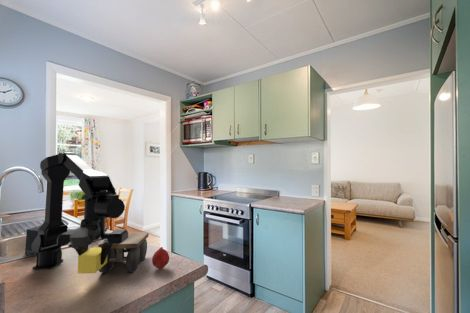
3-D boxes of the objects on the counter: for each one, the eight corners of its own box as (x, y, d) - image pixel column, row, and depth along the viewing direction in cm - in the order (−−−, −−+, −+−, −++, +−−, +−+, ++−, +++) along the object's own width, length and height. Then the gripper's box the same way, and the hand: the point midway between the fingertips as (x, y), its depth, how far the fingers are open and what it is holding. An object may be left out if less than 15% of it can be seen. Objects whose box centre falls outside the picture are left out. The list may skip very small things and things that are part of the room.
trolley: (94, 277, 72) (95, 246, 72) (116, 256, 88) (117, 231, 88) (134, 275, 73) (135, 245, 73) (149, 255, 89) (149, 231, 89)
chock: (77, 273, 64) (78, 256, 64) (91, 262, 71) (91, 247, 71) (95, 273, 65) (95, 256, 65) (107, 262, 71) (107, 247, 72)
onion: (148, 269, 77) (149, 246, 78) (163, 264, 82) (164, 242, 82) (156, 275, 73) (157, 251, 74) (172, 269, 78) (172, 246, 78)
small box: (36, 256, 87) (37, 230, 87) (23, 255, 88) (24, 229, 89) (62, 246, 97) (63, 223, 98) (50, 245, 99) (51, 222, 99)
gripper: (43, 221, 60) (40, 279, 59) (113, 220, 61) (111, 276, 61) (70, 212, 71) (68, 260, 70) (129, 211, 72) (128, 259, 72)
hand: (93, 264), depth 68 cm, fingers closed on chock, 5 cm apart
